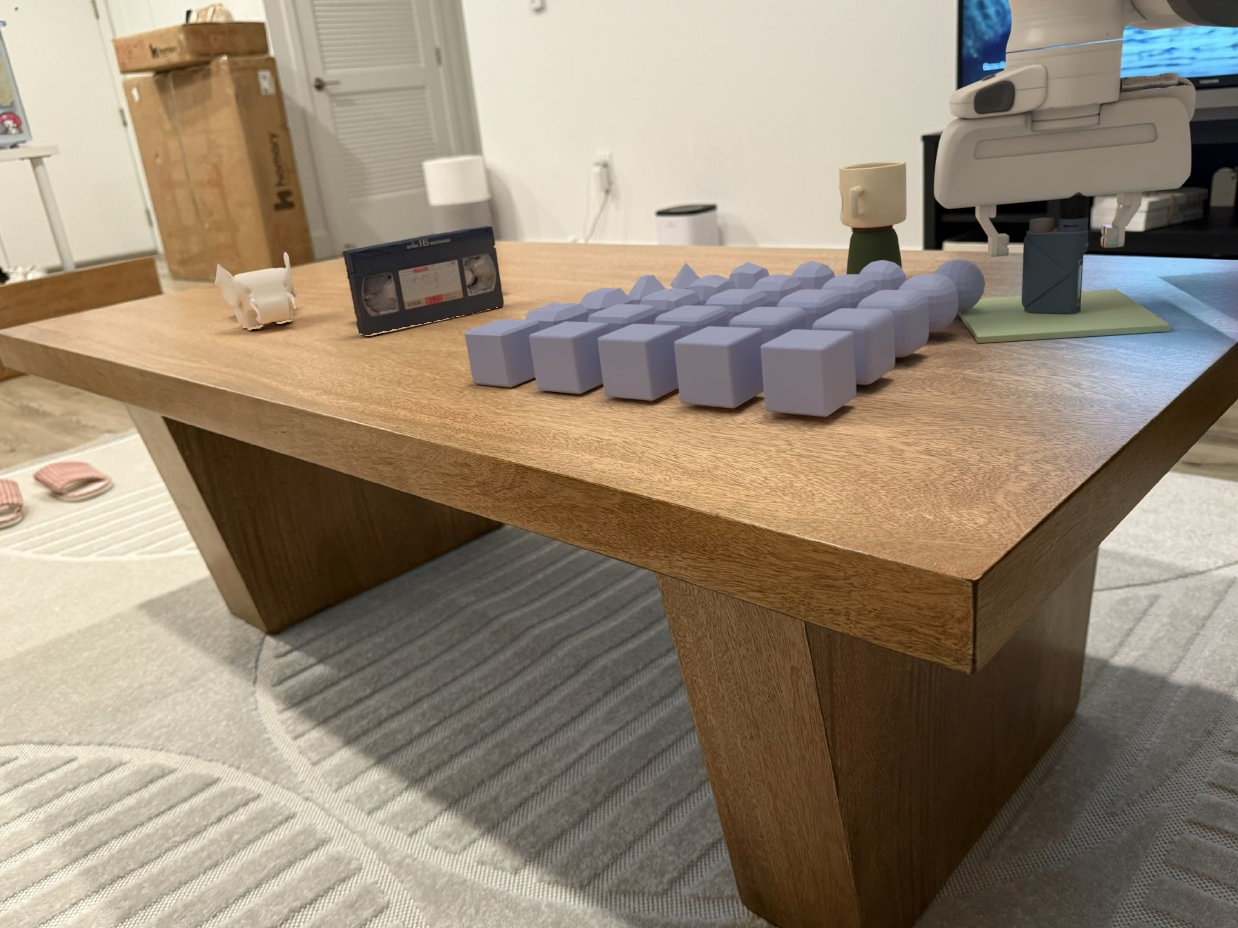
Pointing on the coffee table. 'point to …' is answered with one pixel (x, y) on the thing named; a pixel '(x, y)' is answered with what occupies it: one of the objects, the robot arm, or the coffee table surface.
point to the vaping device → (1056, 259)
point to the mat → (1060, 319)
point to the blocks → (730, 335)
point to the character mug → (873, 211)
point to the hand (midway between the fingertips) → (1054, 251)
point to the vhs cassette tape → (424, 279)
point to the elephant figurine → (259, 294)
